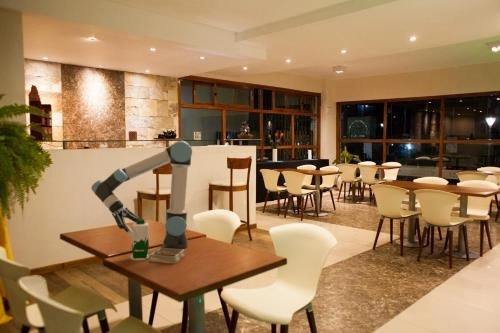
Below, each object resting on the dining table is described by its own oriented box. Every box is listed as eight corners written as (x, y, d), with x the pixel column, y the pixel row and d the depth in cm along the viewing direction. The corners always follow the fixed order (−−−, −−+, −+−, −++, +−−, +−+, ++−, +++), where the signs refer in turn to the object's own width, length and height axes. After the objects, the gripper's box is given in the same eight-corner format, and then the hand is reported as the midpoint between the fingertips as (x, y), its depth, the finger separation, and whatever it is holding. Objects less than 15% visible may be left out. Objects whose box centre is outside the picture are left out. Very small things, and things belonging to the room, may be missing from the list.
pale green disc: (135, 253, 219) (135, 252, 219) (153, 255, 217) (153, 254, 217) (126, 259, 208) (126, 258, 208) (145, 261, 206) (145, 260, 206)
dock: (160, 253, 220) (160, 247, 220) (184, 255, 218) (184, 249, 217) (149, 261, 206) (149, 254, 206) (174, 263, 203) (175, 256, 203)
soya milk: (149, 253, 218) (149, 218, 216) (148, 258, 209) (148, 222, 208) (132, 254, 216) (133, 219, 215) (131, 259, 207) (131, 222, 206)
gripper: (120, 205, 226) (144, 232, 224) (96, 212, 201) (123, 242, 200) (129, 196, 225) (153, 223, 223) (105, 203, 200) (132, 233, 199)
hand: (139, 232), depth 211 cm, fingers open, 13 cm apart
